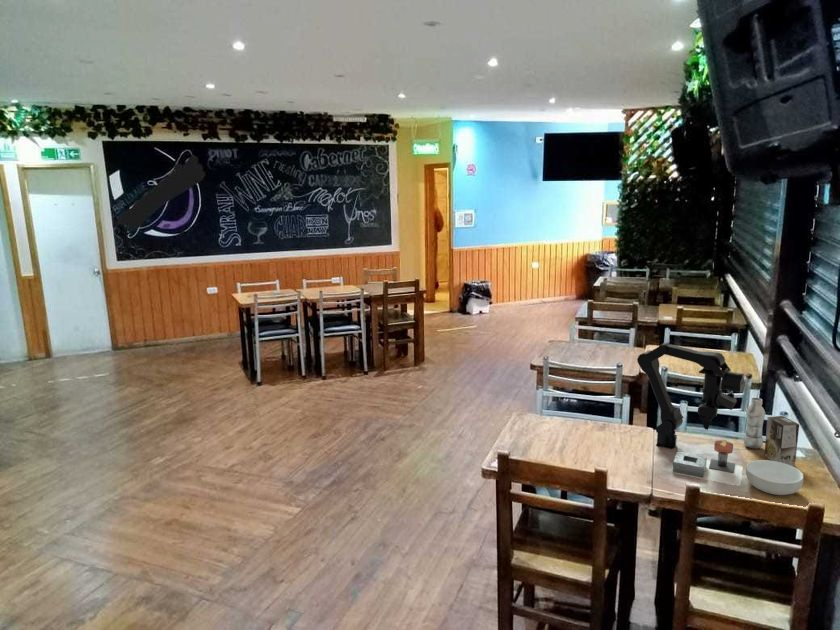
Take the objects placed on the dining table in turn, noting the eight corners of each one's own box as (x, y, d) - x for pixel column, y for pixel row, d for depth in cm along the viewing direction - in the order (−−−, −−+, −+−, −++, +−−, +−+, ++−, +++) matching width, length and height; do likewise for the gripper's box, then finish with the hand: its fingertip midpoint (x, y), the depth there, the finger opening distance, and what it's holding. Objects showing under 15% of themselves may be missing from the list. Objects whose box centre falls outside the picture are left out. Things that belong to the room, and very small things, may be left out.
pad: (708, 468, 213) (709, 467, 213) (711, 460, 220) (711, 459, 219) (733, 473, 209) (733, 472, 209) (735, 464, 215) (735, 463, 215)
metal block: (672, 472, 211) (673, 461, 210) (676, 461, 219) (677, 451, 218) (703, 478, 206) (704, 467, 205) (706, 466, 214) (706, 456, 213)
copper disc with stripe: (730, 470, 210) (732, 447, 208) (712, 467, 213) (714, 444, 211) (731, 463, 215) (733, 441, 213) (713, 460, 218) (715, 438, 216)
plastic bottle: (765, 450, 227) (770, 401, 223) (748, 450, 227) (752, 402, 224) (756, 443, 234) (761, 396, 230) (739, 444, 234) (743, 396, 230)
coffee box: (796, 465, 214) (800, 424, 211) (779, 466, 214) (783, 425, 211) (779, 455, 223) (783, 415, 220) (763, 456, 223) (767, 416, 220)
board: (673, 474, 210) (674, 472, 210) (680, 456, 225) (680, 454, 224) (740, 487, 200) (740, 486, 200) (742, 467, 214) (742, 466, 214)
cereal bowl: (741, 475, 209) (743, 456, 207) (796, 482, 202) (798, 463, 201) (747, 497, 193) (749, 477, 192) (806, 506, 187) (809, 486, 185)
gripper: (733, 397, 206) (729, 438, 209) (738, 382, 221) (734, 421, 225) (699, 392, 212) (695, 432, 215) (706, 378, 227) (702, 415, 230)
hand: (708, 425), depth 221 cm, fingers open, 9 cm apart
